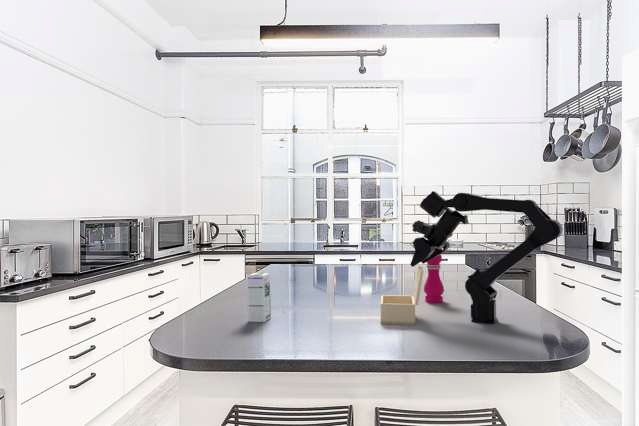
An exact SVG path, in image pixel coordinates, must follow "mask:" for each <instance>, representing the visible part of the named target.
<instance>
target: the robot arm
mask: <svg viewBox="0 0 639 426" xmlns="http://www.w3.org/2000/svg"><path fill="white" fill-rule="evenodd" d="M419 208H420V209H422V210H423V211H425V212H426V213H427V214H428V215H429V216H431V217H432V218H434V219H435V218H439V220H438V221H437V222H435V223H433V224H429V223H426V222H424V221H421V220H415V221H414V222H413V224H411V227H412V232H415V233H419V234H422V235H423V236H422V237H415V239H413V241H412V247H413V248H414V253H413V256H412V259H411V261H410V266H411V267H413V268H414V267H415V266H418V265H419V264H420V263H421V264H423V265H424V264H427V262H428V261H429V260H431V259H433V258H435V257H436V256H438V255H440V254H441V255H442V254H444V253H445V252H447V251H448V250H449V249H450V242H449V241H448V239H449V238H452V237H453V235H454V234H453V233H454V231H455V230H456V229H457V228H458V226H459V225H460V224H461V223H462V224H463V225H467V224H469V222H470V221H469V219H468V217H469V216H468V214H462V213H461V212H475V211H498V212H507V213H508V212H509V213H521V214H524V215H525V216H526V217H527V218H528V220H529V221H530V223H531V224H532V225H533V226H534V229H533V230H532V232H530V234H529V235H528V236H527V237H526V238H525V240H523V241H522V242H521V243H519V244H518V245H517V246H516V247H515V248H513V249H512V250H511V251H509V252H508V253H507V254H506V255H504V256H503V257H501V258H500V259H498V261H497V262H495V263H494V264H492V265H491V266H490V267H489V268H486V269H485V267H484V266H481V267H479V268H476V269H475V271H474V272H473V273H472V274H470V275H468V276H466V277H467V280H466V281H465V283H464V288H465V291H466V292H467V294H469V295H470V298H471V301H472V303H471V304H470V318H471V320H470V321H471V322H476V323H484V324H495V323H496V322H497V321H498V317H497V300H496V298H497V295H498V291H497V290H496V289H495V288H494V287H493V285H494V284H495V282H496V281H497V280H498V278H500V277H501V276H502V275H504V274H505V273H507V271H508V270H510V269H512V268H513V267H514V266H515V265H517V264H518V263H519V262H521V261H522V260H524V259H525V258H526V257H528V256H529V255H530V254H532V253H533V252H534V251H535V250H537V249H539V248H541V247H543V246H544V245H547V244H549V243H550V242H552V241H555V240H556V239H558V238H560V237H561V236H562V234H563V225H562V224H561V223H560V222H559V221H558V220H556V219H552V218H551V217H550V216H549V215H548V214H547V213H546V212H545V211H544V210H543V209H542V208H541V207H540V206H539V205H538V204H537V203H536V201H534V200H532V199H524V200H523V199H510V198H507V199H506V198H496V197H495V198H494V197H492V198H491V197H485V196H481V195H477V194H473V193H468V192H458V193H456V194H455V195H454V196H453V198H450V199H445V198H443V197H442V196H441V195H440V194H439V193H438V192H436V191H435V190H434V191H433V190H432V191H431V193H430V194H428V195H427V196H425V197H424V198H423V199H422V200H421V202H420V204H419ZM451 208H453V209H454V210H452V209H451Z"/></svg>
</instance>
